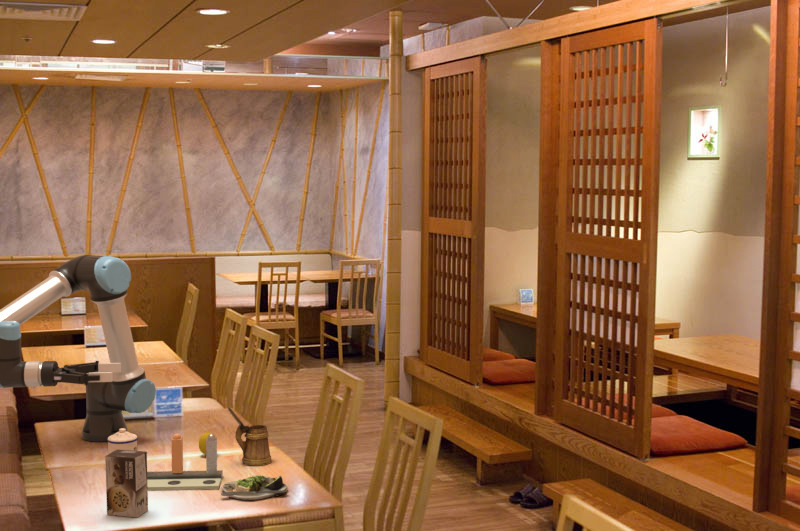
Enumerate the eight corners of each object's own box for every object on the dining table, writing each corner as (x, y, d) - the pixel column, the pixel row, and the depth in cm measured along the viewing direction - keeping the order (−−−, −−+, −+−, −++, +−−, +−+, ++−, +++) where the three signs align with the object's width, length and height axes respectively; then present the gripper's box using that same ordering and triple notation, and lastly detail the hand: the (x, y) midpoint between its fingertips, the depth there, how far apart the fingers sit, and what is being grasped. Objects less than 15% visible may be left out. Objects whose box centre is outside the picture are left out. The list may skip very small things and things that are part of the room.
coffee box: (149, 510, 256) (148, 451, 255) (136, 518, 250) (135, 457, 248) (118, 507, 258) (117, 448, 257) (105, 515, 252) (104, 455, 251)
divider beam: (130, 478, 283) (129, 433, 282) (222, 476, 285) (222, 432, 284) (128, 481, 280) (127, 436, 279) (221, 480, 282) (221, 435, 281)
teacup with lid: (138, 469, 292) (137, 431, 291) (107, 471, 290) (106, 433, 289) (138, 458, 304) (137, 422, 303) (108, 460, 301) (107, 423, 300)
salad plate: (233, 508, 259) (233, 492, 258) (206, 491, 273) (206, 475, 273) (296, 495, 270) (296, 479, 269) (267, 479, 284) (267, 464, 284)
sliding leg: (173, 470, 284) (172, 432, 283) (182, 470, 284) (182, 432, 283) (171, 473, 281) (171, 434, 280) (181, 473, 281) (181, 434, 280)
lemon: (195, 457, 305) (195, 432, 304) (204, 452, 310) (203, 428, 310) (211, 459, 303) (211, 434, 303) (219, 454, 309) (219, 430, 308)
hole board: (134, 483, 279) (134, 479, 278) (221, 481, 281) (221, 478, 281) (129, 490, 272) (129, 487, 272) (218, 489, 274) (218, 485, 274)
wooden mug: (226, 460, 303) (226, 404, 301) (269, 457, 306) (269, 401, 305) (229, 468, 294) (229, 410, 292) (273, 464, 298) (273, 408, 296)
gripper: (53, 377, 296) (124, 375, 298) (31, 396, 271) (108, 394, 273) (52, 353, 295) (123, 351, 297) (30, 370, 270) (107, 368, 273)
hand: (116, 372), depth 285 cm, fingers open, 13 cm apart
